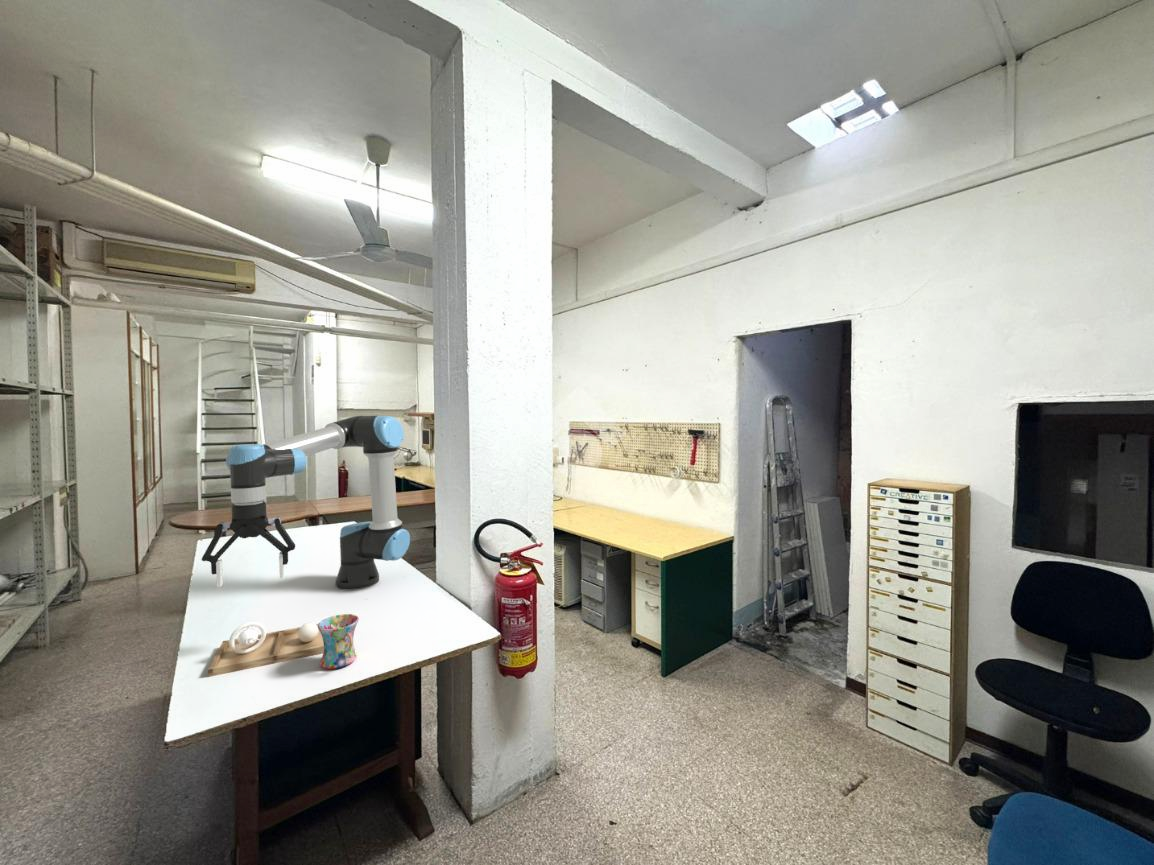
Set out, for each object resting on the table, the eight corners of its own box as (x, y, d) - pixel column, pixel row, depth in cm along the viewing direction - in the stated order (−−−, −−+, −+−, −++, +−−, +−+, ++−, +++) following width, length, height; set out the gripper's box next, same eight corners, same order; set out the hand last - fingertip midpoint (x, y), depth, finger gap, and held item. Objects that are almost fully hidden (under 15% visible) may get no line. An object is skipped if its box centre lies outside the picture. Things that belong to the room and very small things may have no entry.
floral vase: (312, 663, 116) (311, 622, 115) (349, 649, 123) (348, 610, 123) (332, 680, 108) (331, 636, 108) (370, 664, 115) (370, 623, 115)
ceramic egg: (319, 635, 129) (318, 618, 129) (318, 642, 125) (318, 625, 125) (298, 639, 127) (298, 621, 127) (297, 647, 123) (297, 628, 122)
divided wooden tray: (335, 627, 136) (335, 620, 136) (334, 651, 122) (334, 643, 122) (223, 648, 123) (222, 641, 123) (208, 677, 109) (207, 669, 109)
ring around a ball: (264, 644, 124) (264, 616, 124) (269, 652, 120) (269, 622, 120) (228, 655, 118) (227, 625, 118) (231, 664, 114) (231, 632, 114)
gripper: (304, 496, 130) (306, 568, 131) (192, 504, 118) (196, 584, 119) (302, 500, 123) (305, 577, 124) (184, 509, 112) (188, 594, 112)
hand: (251, 581), depth 122 cm, fingers open, 13 cm apart
